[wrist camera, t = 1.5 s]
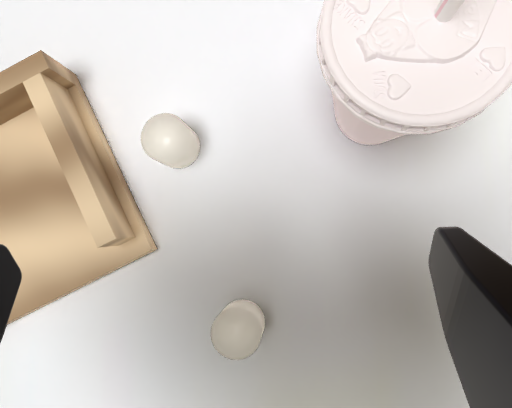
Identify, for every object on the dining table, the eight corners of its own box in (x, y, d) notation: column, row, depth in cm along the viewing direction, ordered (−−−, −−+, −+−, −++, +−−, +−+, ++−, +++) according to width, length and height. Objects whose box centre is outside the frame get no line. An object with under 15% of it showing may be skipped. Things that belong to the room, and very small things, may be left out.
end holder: (157, 249, 23) (134, 252, 20) (-16, 336, 24) (-66, 353, 21) (75, 74, 24) (40, 50, 21) (-88, 162, 25) (-147, 152, 22)
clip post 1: (207, 156, 23) (196, 147, 21) (168, 176, 23) (153, 170, 21) (188, 117, 23) (175, 104, 21) (150, 137, 24) (132, 127, 21)
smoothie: (452, 142, 22) (722, -4, 8) (336, 189, 22) (401, 127, 8) (403, 31, 23) (574, -285, 9) (290, 80, 23) (280, -148, 9)
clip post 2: (272, 333, 22) (269, 346, 20) (232, 353, 22) (224, 368, 20) (252, 291, 23) (247, 299, 20) (212, 311, 23) (202, 321, 20)
